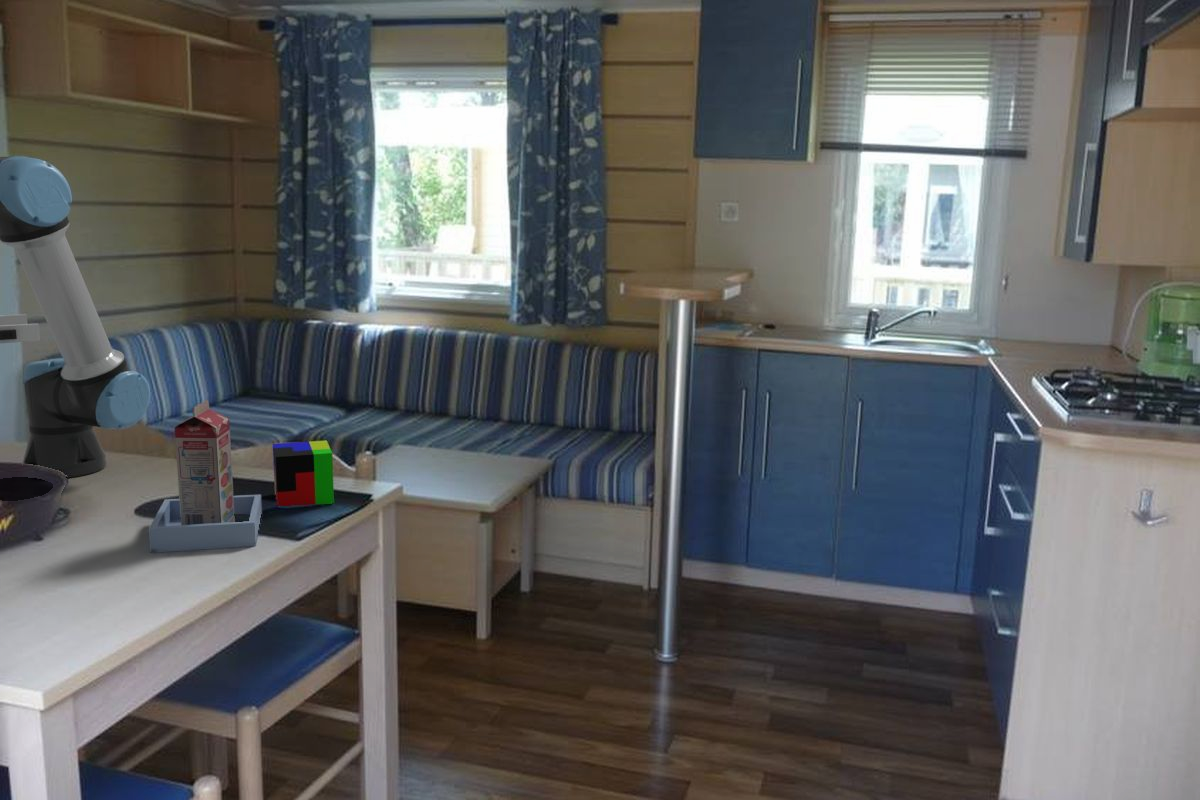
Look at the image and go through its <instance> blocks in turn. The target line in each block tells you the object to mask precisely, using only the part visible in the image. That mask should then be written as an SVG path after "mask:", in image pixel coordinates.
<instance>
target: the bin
mask: <svg viewBox="0 0 1200 800" xmlns="http://www.w3.org/2000/svg"><path fill="white" fill-rule="evenodd" d="M233 497H234V514H250V517H249V521H243V522H226V523H209V524H193V525H181V519H180V518H181V517H180V503H179V498H168V499H167V498H166V499H164V500H163V503H162V504H161V505H160V508H159V509H158V511H157V513H156V515H155V517H154V518H153V521H152V522H151V524H150V526H149V528H148V536H149V549H150V553H151V554H153V553H167V552H169V553H170V552H181V551H182V552H183V551H198V550H212V549H213V550H214V549H215V550H216V549H227V548H229V549H231V548H246V547H256V546H257V542H258V536H259V533H258V530H259V531H260V528H259V524H260V525H261V523H260V518H261V514H262V515H263V506H262V505H263V504H262V494H244V495H243V494H241V495H233Z"/></svg>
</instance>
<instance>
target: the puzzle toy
mask: <svg viewBox="0 0 1200 800" xmlns="http://www.w3.org/2000/svg"><path fill="white" fill-rule="evenodd" d="M272 456H273V457H272V459H273V461H272V462H273V476H274V477H273V479H274V481H273V482H274V496H275V495H276V497H275V500H277V501H276V505H277V504H278V506H291V505H308V504H309V505H310V504H332V503H334V504H335V497H334V495H335V494H334V491H335V490H334V487H335V486H334V465H333V464H334V463H333V461H334V460H333V451H332V449H331V448H330V445H329V443H328V440H326V439H325V440H313V441H297V442H284V443H272ZM332 505H333V504H332ZM278 506H277V507H278Z"/></svg>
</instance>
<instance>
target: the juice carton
mask: <svg viewBox="0 0 1200 800" xmlns="http://www.w3.org/2000/svg"><path fill="white" fill-rule="evenodd" d="M192 414H193V415H192V416H190V417H189V418H187V419H185V420H184V421H182V422H181V423H179V424H177V425H176V426H175V427H174V440H175V452H176V453H175V455H176V458H175V459H176V469H177V470H176V472H177V485H178V499H179V503H180V517H181V525H193V524H209V523H226V522H235V516H234V497H233V496H234V483H233V464H232V445H231V429H230V418H228V417H227V416H225V415H223V414H221V413H219V412H217V411H215V410H212V409H210V404H209V399H205V400H203V401H201V402H200V403H199V404H196V405H195V406H193V407H192Z"/></svg>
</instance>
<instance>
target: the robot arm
mask: <svg viewBox="0 0 1200 800" xmlns="http://www.w3.org/2000/svg"><path fill="white" fill-rule="evenodd" d="M72 203H73V196H72V191H71V187H70V185H69V182H68V180H67V179H66V178H65V176H64V175H63V173H62V172H61V171H60V170H59V169H58V168H57V167H56V166H54V165H52V164H51V163H49V162H47V161H45V160H42V159H39V158H36V157H35V158H34V157H28V156H24V155H23V156H22V155H15V156H0V243H2V244H4V245H6V246H9V247H11V248H13V249H14V251H15V253H16V255H17V258H18V260H19V263H20V264H21V266H22V268H23V272H24V273H25V276H26V278H27V280H28V283H29V284H30V287H31V290H32V292H33V294H34V296H35V298H36V301H37V303H38V304H39V305H38V306H39V307H40V310H41V312H42V314H43V316H44V319H45V321H46V323H47V325H48V328H49V330H50V332H51V334H52V336H53V337H52V338H53V340H54V341H55V343H56V345H57V347H58V350H59V353H60V355H61V357H59V358H52V359H51V358H50V359H44V360H43V359H42V360H38V361H31V362H29V363H28V364H26V365H25V366H24V368H23V385H24V392H25V401H26V402H25V403H26V411H27V421H28V422H27V423H28V429H29V431H28V432H29V433H28V434H29V435H28V441H27V443H26V447H25V448H26V449H25V452H24V456H23V459H22V464H23V463H24V464H33V465H40V466H44V467H48V468H52V469H55V470H59V471H61V472H63V473H64V474H65V475H67V476H68V477H67V478H73V477H74V478H75V477H80V476H84V475H89V474H93V473H97V472H98V471H101V470H103V469H105V468H106V467H107V457H106V453H105V450H104V448H103V446H102V445H101V442H100V440H99V438H98V436H97V434H96V431H95V428H97V427H98V428H102V429H104V430H125V429H128V428H131V427H133V426H135V425H136V424H138V423H139V422H140V421H141V419H143V417H144V415H145V414H146V412H147V411H148V410H147V409H148V406H149V405H150V402H151V393H152V392H151V388H150V384H149V382H148V380H147V378H146V377H145V376H144V375H142V374H141V373H139V372H138V371H135V370H131V369H130V367H129V364H128V363H127V360H126V358H125V355H124V353H123V352H122V351H121V350H117V349H114V348H113V347H112V345H111V342H110V341H109V338H108V336H107V334H106V331H105V329H104V326H103V324H102V320H101V318H100V316H99V314H98V311H97V309H96V307H95V304H94V301H93V299H92V297H91V295H90V292H89V290H88V287H87V285H86V283H85V280H84V278H83V276H82V272H81V271H80V269H79V266H78V263H77V261H76V259H75V257H74V256H75V255H74V253H73V251H72V249H71V247H70V243H69V242H68V239H67V237H66V233H67V230H68V228H69V226H70V224H71V223H70V220H69V218H68V215H69V213H70V211H71V207H70V204H72ZM39 341H41V331H40V324H39V322H38V323H28V315H27V313H20V314H17V313H16V314H4V315H3V314H1V315H0V344H9V343H11V344H12V343H24V342H25V343H29V342H39Z"/></svg>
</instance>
